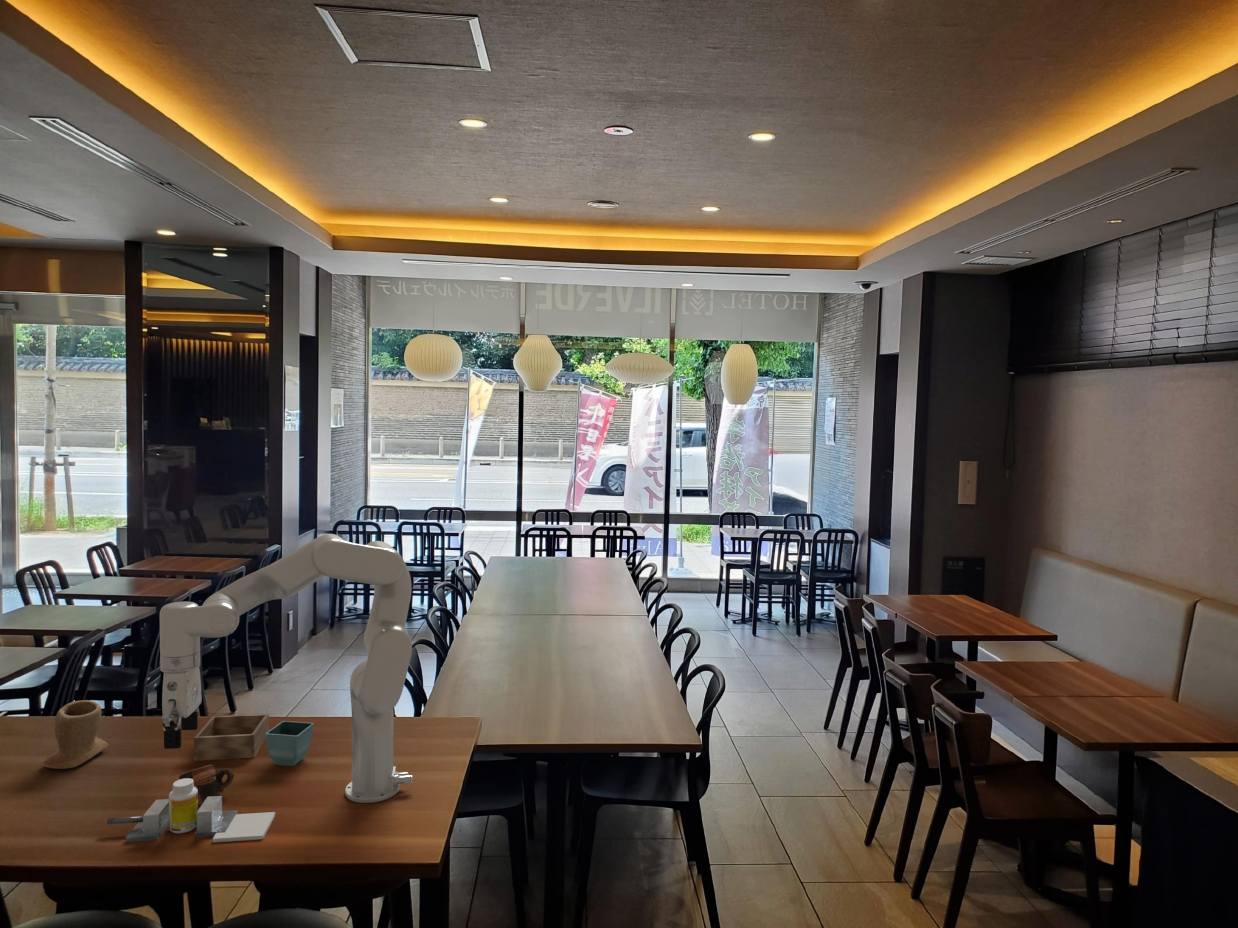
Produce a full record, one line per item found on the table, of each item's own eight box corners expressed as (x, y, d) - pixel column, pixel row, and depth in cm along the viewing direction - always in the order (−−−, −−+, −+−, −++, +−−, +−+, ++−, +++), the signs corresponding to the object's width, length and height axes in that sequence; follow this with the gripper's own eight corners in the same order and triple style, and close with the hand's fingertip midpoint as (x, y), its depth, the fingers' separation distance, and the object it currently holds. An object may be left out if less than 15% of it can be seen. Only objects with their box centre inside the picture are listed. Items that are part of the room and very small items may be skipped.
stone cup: (79, 774, 198) (78, 714, 197) (34, 771, 199) (32, 712, 198) (122, 748, 213) (121, 693, 212) (80, 745, 214) (78, 691, 213)
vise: (238, 814, 180) (237, 792, 180) (225, 835, 172) (225, 812, 171) (117, 821, 176) (117, 799, 176) (98, 843, 167) (98, 820, 167)
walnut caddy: (269, 734, 224) (268, 713, 223) (254, 757, 209) (254, 734, 209) (213, 737, 221) (212, 716, 221) (194, 760, 207) (193, 737, 207)
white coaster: (275, 815, 180) (275, 811, 180) (263, 838, 171) (263, 835, 170) (227, 818, 179) (227, 814, 179) (212, 842, 169) (212, 838, 169)
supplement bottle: (202, 827, 175) (201, 782, 174) (174, 837, 170) (173, 790, 170) (192, 818, 178) (192, 773, 178) (165, 827, 174) (164, 782, 174)
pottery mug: (178, 813, 181) (170, 777, 184) (188, 812, 190) (180, 778, 192) (235, 791, 186) (226, 756, 188) (242, 791, 194) (233, 758, 197)
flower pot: (314, 755, 211) (314, 722, 211) (298, 770, 203) (297, 735, 202) (282, 753, 212) (282, 720, 212) (265, 768, 203) (264, 733, 203)
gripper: (184, 673, 164) (185, 754, 165) (212, 648, 181) (213, 722, 182) (144, 674, 163) (145, 756, 164) (176, 649, 180) (177, 723, 181)
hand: (181, 738), depth 173 cm, fingers open, 9 cm apart
